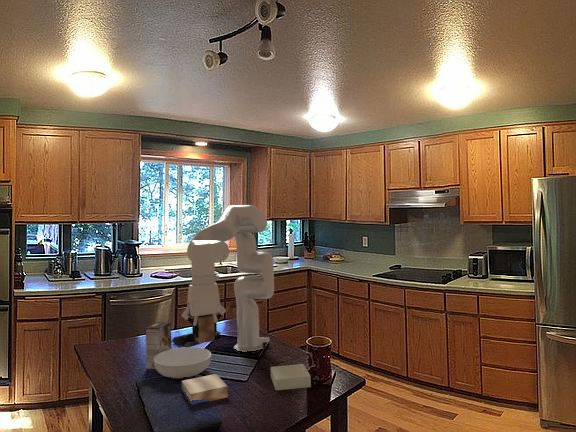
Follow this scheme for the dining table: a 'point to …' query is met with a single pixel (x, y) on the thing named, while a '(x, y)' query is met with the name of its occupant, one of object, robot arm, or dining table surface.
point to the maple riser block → (205, 388)
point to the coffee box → (157, 341)
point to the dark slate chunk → (188, 339)
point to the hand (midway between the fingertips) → (204, 335)
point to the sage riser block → (290, 377)
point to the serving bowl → (182, 362)
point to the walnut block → (205, 329)
